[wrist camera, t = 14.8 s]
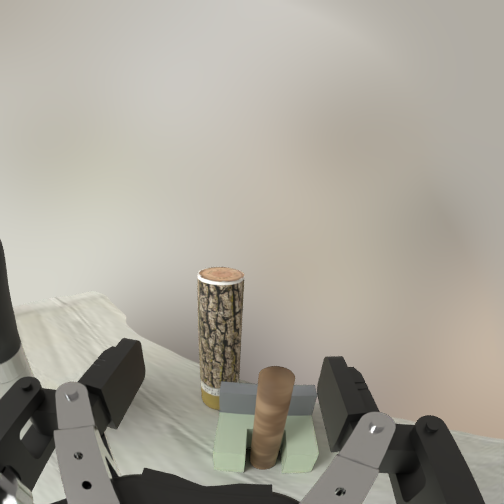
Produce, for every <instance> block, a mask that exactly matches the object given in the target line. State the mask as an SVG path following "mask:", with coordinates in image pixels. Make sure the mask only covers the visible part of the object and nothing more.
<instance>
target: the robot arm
mask: <svg viewBox="0 0 504 504" xmlns="http://www.w3.org/2000/svg"><path fill="white" fill-rule="evenodd" d="M144 377H145V364H144V359H143V353H142V347H141V343H140V341H137V340H132V339H127V338H123V339H122V340H121V341H120V342H119V343H118V345H117V346H116V347H113V346H112V347H110V348H109V349H107V350H105V351H103V353H102V354H101V355H100V356H99V357H98V359H97V360H96V361H95V362H94V364H92V365H91V367H90V368H89V369H88V370H87V371H86V372H85V374H84V375H83V376H82V377H81V378H80V380H79V381H78V382H67V383H64V384H62V385H61V386H60V387H58V389H57V390H52V389H44V388H42V386H41V384H40V382H39V380H38V379H36V378H35V377H34V375H33V372H32V370H31V367H30V365H29V362H28V360H27V357H26V355H25V352H24V349H23V346H22V343H21V340H20V337H19V334H18V330H17V325H16V320H15V315H14V311H13V307H12V302H11V298H10V292H9V286H8V279H7V270H6V263H5V257H4V250H3V246H2V242H1V240H0V504H34V503H33V496H32V493H31V492H32V490H33V488H34V486H35V484H36V482H37V480H38V478H39V476H40V474H41V472H42V471H43V469H44V467H45V465H46V463H47V461H48V460H49V458H50V456H51V454H52V452H53V451H54V449H55V447H56V453H57V459H58V464H59V469H60V474H61V479H62V483H63V487H64V491H65V495H66V499H63V500H60V501H57V502H54V503H51V504H362V503H363V501H364V499H365V497H366V496H367V494H368V492H369V490H370V488H371V487H372V485H373V483H374V481H375V479H376V477H377V475H378V473H388V474H389V477H390V481H391V484H392V488H393V492H394V496H395V499H396V503H397V504H485V502H484V500H483V498H482V495H481V493H480V491H479V489H478V486H477V484H476V482H475V480H474V478H473V476H472V474H471V472H470V469H469V467H468V465H467V463H466V461H465V459H464V457H463V456H462V454H461V452H460V450H459V448H458V446H457V444H456V442H455V440H454V439H453V437H452V435H451V433H450V431H449V429H448V428H447V426H446V424H445V423H444V421H443V420H441V419H440V418H438V417H435V416H431V415H430V416H429V415H427V416H423V417H421V418H419V419H418V420H417V422H416V424H415V425H404V424H395V422H394V420H393V419H392V418H391V417H390V416H389V415H387V414H385V413H381V412H379V410H378V408H377V405H376V404H375V401H374V399H373V397H372V395H371V393H370V391H369V390H368V387H367V385H366V383H365V380H364V378H363V377H362V374H361V373H360V372H359V371H357V370H356V369H355V368H354V367H347V364H346V362H345V360H344V358H343V357H342V356H339V357H325V358H324V362H323V365H322V370H321V374H320V378H319V381H318V387H317V395H318V399H319V404H320V408H321V412H322V416H323V420H324V425H325V429H326V433H327V437H328V442H329V446H330V450H331V452H338V451H340V453H339V454H337V455H336V457H335V458H334V459H333V461H332V462H331V464H330V465H329V466H328V468H327V469H326V471H325V472H324V473H323V475H322V476H321V477H320V479H319V480H318V481H317V482H316V484H315V485H314V486H313V488H312V489H311V490H310V491H309V492H308V494H307V495H306V496H305V497H304V498H303V500H302V501H301V502H299V501H297V500H295V499H293V498H291V497H289V496H286V495H283V494H280V493H276V492H272V485H261V484H231V485H221V486H202V485H199V484H196V483H194V482H191V481H188V480H186V479H183V478H181V477H178V476H176V475H173V474H169V473H164V472H160V471H156V470H152V469H148V468H144V470H143V473H142V474H134V475H124V476H122V475H121V473H120V471H119V469H118V467H117V464H116V462H115V459H114V457H113V454H112V451H111V448H110V445H109V442H108V439H107V436H106V434H105V430H106V428H107V427H110V428H114V429H117V428H118V426H119V424H120V422H121V421H122V419H123V417H124V415H125V413H126V411H127V409H128V408H129V406H130V404H131V402H132V400H133V399H134V397H135V395H136V393H137V391H138V390H139V388H140V386H141V384H142V382H143V380H144Z"/></svg>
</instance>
